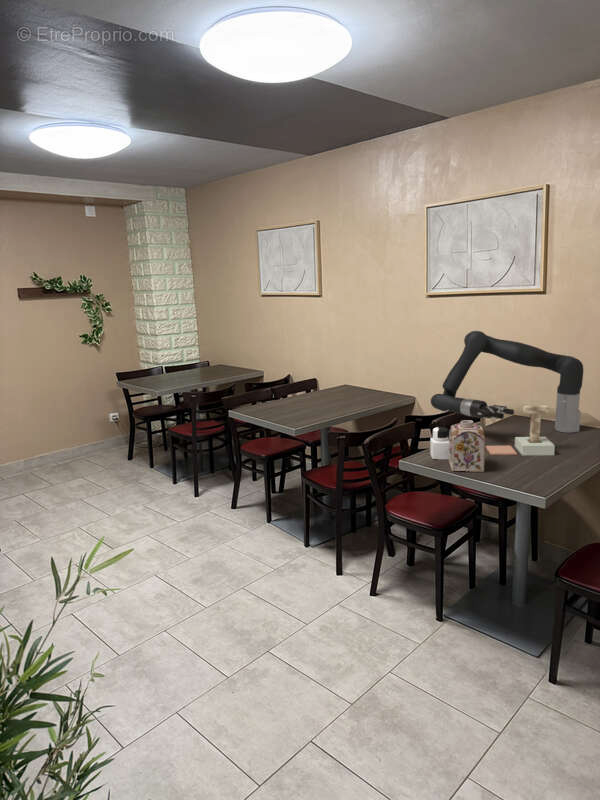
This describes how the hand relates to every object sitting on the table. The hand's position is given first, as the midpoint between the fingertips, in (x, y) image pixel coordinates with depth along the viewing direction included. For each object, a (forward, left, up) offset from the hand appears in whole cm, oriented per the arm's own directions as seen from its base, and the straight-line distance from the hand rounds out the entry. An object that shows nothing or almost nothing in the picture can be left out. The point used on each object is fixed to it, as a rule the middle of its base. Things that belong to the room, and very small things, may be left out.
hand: (508, 414), depth 230 cm
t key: (-9, +7, -13) cm, 18 cm away
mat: (+4, +7, -13) cm, 16 cm away
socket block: (-9, +7, -13) cm, 18 cm away
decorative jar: (+21, +26, -14) cm, 37 cm away
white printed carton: (+29, +14, -14) cm, 35 cm away
